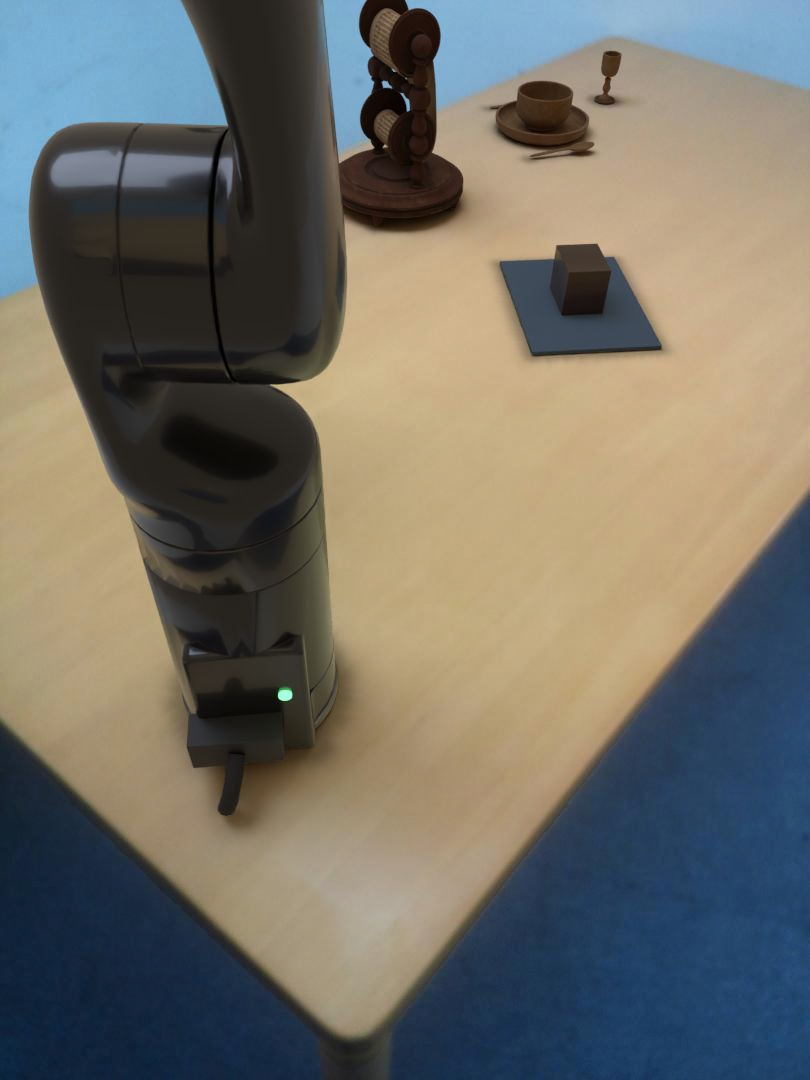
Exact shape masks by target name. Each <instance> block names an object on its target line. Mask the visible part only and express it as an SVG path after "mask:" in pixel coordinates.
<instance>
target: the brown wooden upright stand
mask: <svg viewBox="0 0 810 1080" xmlns="http://www.w3.org/2000/svg"><path fill="white" fill-rule="evenodd" d="M358 30H359V35H360V38H361V40H362V42H363V43H364V45H365V46H366V47H368V49H370V52H371V54H372V56H371V57H369V59H368V62H367V72H368V74H369V76H370V77H371V78H370V80H371V81H372V82H373V85H372V88H371V92H370V94H369V95H368V96H367V98H366V99H365V100H364V101H363V104H362V105H361V106H362V107H361V109H360V113H359V114H360V115H359V124H360V129H361V131H362V133H363V135H365V137H366V138H367V139H368V140H370V143H371V146H372V147H373V148H370V149H366V150H362V151H360V152H357V153H355V154H353V155H351V156H349V157H348V158H346V159H344V160H342V161H341V162H339V168H340V178H341V188H342V200H343V206H345V207H346V208H348V209H350V210H353V211H355V212H358V213H361V214H364V215H369V216H371V218H372V222H373V225H374V226H375V227H378V228H379V227H381V224H382V222H383V218H388V219H409V218H410V219H411V218H420V217H426V216H429V215H434V214H437V213H440V212H442V211H445V210H446V209H449V208H450V209H452V210H455V209H457V207H458V205H459V203H460V198H461V196H462V195H463V192H464V176H463V173H462V171H461V170H460V168H458V167H457V166H456V165H455V164H453V163H452V162H451V161H449V160H447V159H446V158H445V157H442V156H440V155H439V154H436V153H435V152H434V148H435V146H436V142H437V133H438V132H437V131H438V120H437V116H438V115H437V113H438V112H437V85H436V72H435V64H434V60H435V58H436V56H437V54H438V52H439V49H440V45H441V37H442V34H441V33H442V32H441V27H440V24H439V21H438V19H437V18H436V16H435V15H434V14H433V13H432V12H431V11H429V10H427V8H426V9H425V8H421V7H415V8H409V6H408V3H407V1H406V0H365V2H364V3H363V5H362V7H361V9H360V13H359V17H358ZM383 82H387V84H388V86H390V87H384V85H383V84H384V83H383ZM404 97H405V98H404ZM405 99H407V100H408V103H409V110H408V107H407V102H406V100H405ZM384 146H385V147H384Z"/></svg>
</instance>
